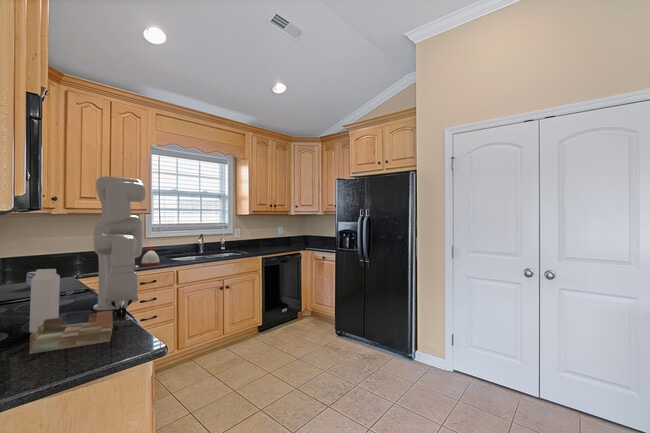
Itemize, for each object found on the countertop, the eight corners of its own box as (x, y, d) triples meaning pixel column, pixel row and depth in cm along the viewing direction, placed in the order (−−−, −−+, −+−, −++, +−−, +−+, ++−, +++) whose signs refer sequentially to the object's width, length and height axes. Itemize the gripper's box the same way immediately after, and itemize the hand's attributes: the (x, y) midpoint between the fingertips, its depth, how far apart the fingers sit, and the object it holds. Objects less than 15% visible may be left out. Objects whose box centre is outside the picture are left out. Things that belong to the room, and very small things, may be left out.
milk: (49, 331, 111) (51, 270, 111) (28, 332, 109) (31, 270, 109) (58, 325, 116) (60, 267, 116) (38, 326, 114) (40, 268, 115)
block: (97, 322, 113) (97, 312, 113) (111, 321, 115) (112, 310, 115) (95, 326, 109) (96, 315, 109) (111, 324, 112) (111, 313, 112)
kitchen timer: (140, 263, 273) (141, 246, 273) (157, 262, 281) (158, 246, 282) (142, 265, 262) (143, 247, 262) (160, 264, 270) (161, 247, 270)
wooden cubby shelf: (43, 335, 107) (43, 319, 107) (112, 325, 118) (113, 311, 118) (29, 353, 92) (30, 335, 92) (110, 341, 103) (110, 324, 103)
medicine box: (25, 288, 174) (26, 272, 174) (34, 286, 178) (35, 271, 178) (36, 289, 172) (36, 273, 172) (45, 287, 176) (45, 272, 176)
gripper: (145, 267, 123) (143, 312, 122) (99, 269, 114) (97, 318, 114) (146, 269, 116) (144, 318, 116) (97, 272, 108) (95, 324, 108)
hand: (121, 318), depth 115 cm, fingers closed
